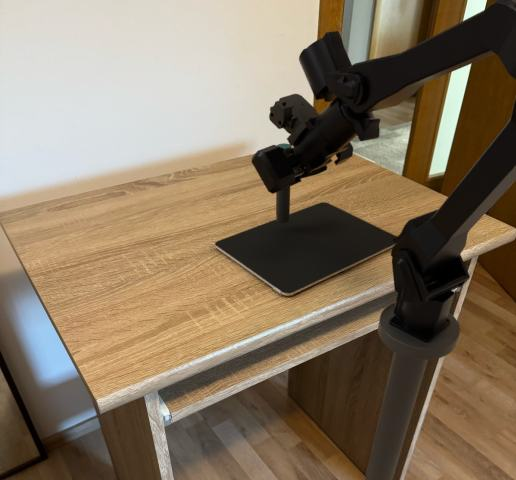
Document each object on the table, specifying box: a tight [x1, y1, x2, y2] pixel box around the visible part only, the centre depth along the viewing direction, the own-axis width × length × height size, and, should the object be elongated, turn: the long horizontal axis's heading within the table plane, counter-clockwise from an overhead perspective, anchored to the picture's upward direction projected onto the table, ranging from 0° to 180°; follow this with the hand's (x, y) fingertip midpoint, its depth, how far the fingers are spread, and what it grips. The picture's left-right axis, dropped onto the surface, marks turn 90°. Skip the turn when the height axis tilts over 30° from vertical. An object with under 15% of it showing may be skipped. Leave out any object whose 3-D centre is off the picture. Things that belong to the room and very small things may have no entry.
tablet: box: [214, 202, 397, 297], centre depth 85 cm, size 27×1×20 cm
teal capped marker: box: [275, 142, 292, 223], centre depth 82 cm, size 2×2×13 cm
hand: (277, 182), depth 83 cm, fingers closed on teal capped marker, 2 cm apart
